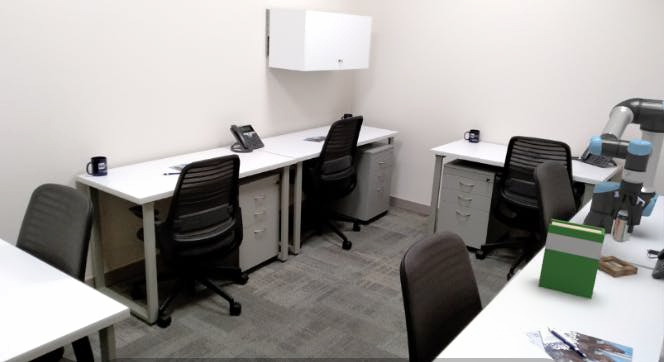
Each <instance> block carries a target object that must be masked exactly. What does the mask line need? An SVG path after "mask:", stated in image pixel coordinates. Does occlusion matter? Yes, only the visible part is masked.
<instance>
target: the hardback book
mask: <svg viewBox="0 0 664 362" xmlns="http://www.w3.org/2000/svg"><path fill="white" fill-rule="evenodd" d="M548 225H549V226H548V229H547V235H546V241H545V247H544V251H543V257H542V258H543V259H542V263H541V269H540V274H539V280H538V284H537V285H538V287H539V288H543V289H547V290H551V291H555V292H560V293H564V294H569V295H572V296H576V297H581V298H584V299H589V300H592V297H593V293H594V290H595V289H594V288H595V283H596V281H597V280H596V279H597V275H598V271H599V269H598V265H599V261H600V257H602V256H601V255H602V251H603V246H604V241H605V236H606V233H605V229H603V228H598V227H593V226H587V225H583V223H577V222H570V221H565V220H559V219H554V218H550V222H549V224H548Z"/></svg>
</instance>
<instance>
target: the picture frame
mask: <svg viewBox="0 0 664 362" xmlns="http://www.w3.org/2000/svg"><path fill="white" fill-rule="evenodd" d="M638 270H639V267H637V266H635V265H634V264H630V263H629V262H627V261H624V260H623V259H620V258H618V257H616V256H614V255H608V256H600V261H599V265H598V271H601V272H602V273H604V274H606V275H608V276H610V277H613V278H622V277H628V276H634V275H635V276H636V275H638Z"/></svg>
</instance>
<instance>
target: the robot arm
mask: <svg viewBox="0 0 664 362" xmlns="http://www.w3.org/2000/svg"><path fill="white" fill-rule="evenodd" d="M608 118H609V119H608V121H607V123H606V125H605V126H604V128H603V130H602V132H601V133H600V135H597V136H596V135H594V136H591V138H590V141H589V144H588V152H589V154H591V155H596V156H601V157H606V158H607V157H608V158H615V159H618V160H619V159H621V160H625V161H624V166H623V169H622V174H621V180H620V182H618V181H599V182H597V183H595V185H594V188H593V191H592V197H591V198H592V199H591V202H590V208H589V211H588V213H587V214H586V216H585V218H584V219H583V222H582V225H587V226H593V227H598V228H603V229H605V234H610V236H612V237H613V233H614V229H615V224H616V219H617V215H618V212H619V211H620V210H626V211H628V224H626V226H625V231H624V235H623V241H625V242H627V241H630V238H631V234H633V232H634V228H635V226H640V224H641V220H642V217H645V218H646V217H650V216H651V215H652V212H653V210H654V208H655V206H656V203H657V200H658V198H659V196H660V194H659V193H657V189H656V187H655V186H654V184H655V179H656V175H657V171H658V167H659V166H658V165H659V161H660V158H661V153H662V150H663V149H662V148H663V144H664V99H663V100H662V99H653V98H642V97H632V98H628V99H625V100H622V101H621V102H619V103H617V104H616V105H614V106H613V108H612V109H611V111H610V112H609V115H608ZM629 124H632V125H633V124H634V125H639V130H640V132H641V138H640V139H630V140H627V139H626V140H625V139H622V136H623V135H624V133H625V131H626V129H627V127H628V125H629Z"/></svg>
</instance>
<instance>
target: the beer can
mask: <svg viewBox="0 0 664 362" xmlns="http://www.w3.org/2000/svg"><path fill="white" fill-rule="evenodd" d="M626 224H628V211H626V210H620V211H619V212H618V215H617V219H616V224H615V229H614V233H613V236H612V240H614V241H615V242H618V243H625V242H626V241H623V235H624V231H625V226H626Z"/></svg>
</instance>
